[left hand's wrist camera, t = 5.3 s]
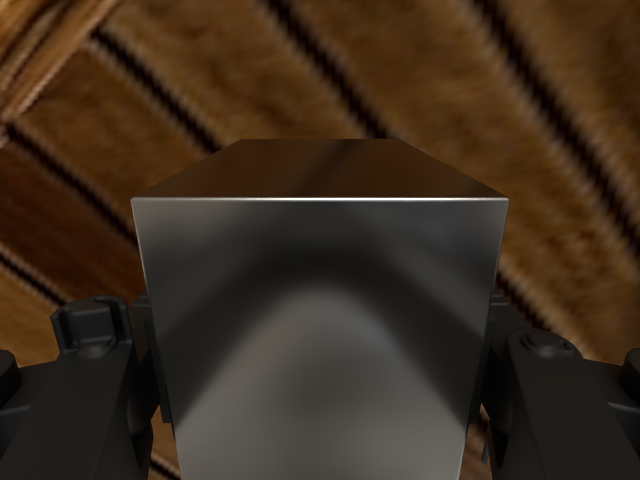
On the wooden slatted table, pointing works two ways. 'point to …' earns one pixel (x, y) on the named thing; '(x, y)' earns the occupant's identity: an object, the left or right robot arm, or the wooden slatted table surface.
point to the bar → (320, 308)
